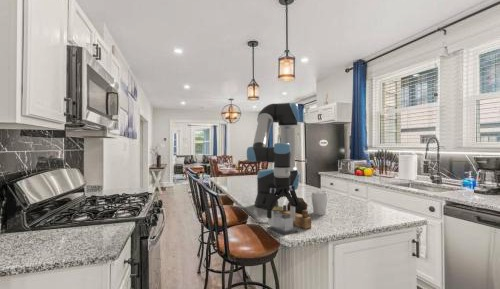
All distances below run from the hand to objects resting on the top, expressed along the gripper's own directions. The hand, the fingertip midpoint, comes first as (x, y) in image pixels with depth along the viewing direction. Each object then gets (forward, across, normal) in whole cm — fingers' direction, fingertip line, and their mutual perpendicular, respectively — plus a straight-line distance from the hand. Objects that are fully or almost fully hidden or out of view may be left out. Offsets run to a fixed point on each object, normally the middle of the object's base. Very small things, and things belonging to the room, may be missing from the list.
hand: (282, 222), depth 121 cm
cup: (+4, +37, +9) cm, 38 cm away
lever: (-2, +8, +14) cm, 16 cm away
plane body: (+3, +11, +3) cm, 12 cm away
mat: (+3, 0, 0) cm, 3 cm away
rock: (+4, +23, +13) cm, 27 cm away
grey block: (+3, 0, 0) cm, 3 cm away
